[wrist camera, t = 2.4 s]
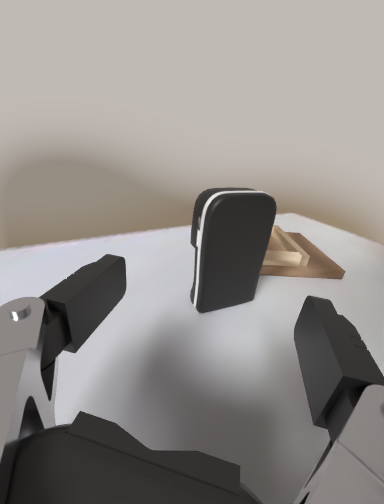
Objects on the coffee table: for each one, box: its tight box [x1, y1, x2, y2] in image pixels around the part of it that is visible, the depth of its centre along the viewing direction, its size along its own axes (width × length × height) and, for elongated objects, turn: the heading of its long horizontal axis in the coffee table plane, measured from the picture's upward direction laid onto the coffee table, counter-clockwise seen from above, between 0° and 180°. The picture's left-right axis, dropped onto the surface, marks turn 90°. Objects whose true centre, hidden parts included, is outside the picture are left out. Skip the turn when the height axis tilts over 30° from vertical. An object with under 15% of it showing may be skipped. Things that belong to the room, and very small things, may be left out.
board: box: [259, 225, 345, 279], centre depth 34 cm, size 16×13×3 cm
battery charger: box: [190, 188, 276, 313], centre depth 21 cm, size 7×4×11 cm, turn 114°
